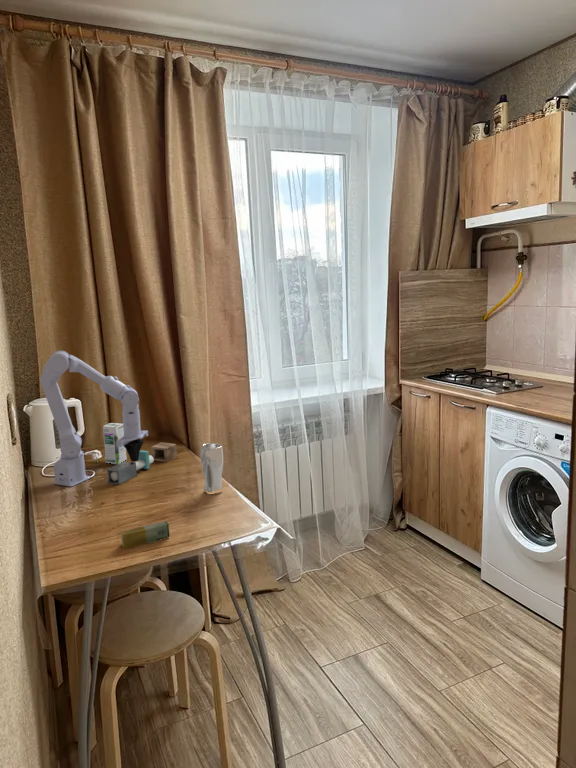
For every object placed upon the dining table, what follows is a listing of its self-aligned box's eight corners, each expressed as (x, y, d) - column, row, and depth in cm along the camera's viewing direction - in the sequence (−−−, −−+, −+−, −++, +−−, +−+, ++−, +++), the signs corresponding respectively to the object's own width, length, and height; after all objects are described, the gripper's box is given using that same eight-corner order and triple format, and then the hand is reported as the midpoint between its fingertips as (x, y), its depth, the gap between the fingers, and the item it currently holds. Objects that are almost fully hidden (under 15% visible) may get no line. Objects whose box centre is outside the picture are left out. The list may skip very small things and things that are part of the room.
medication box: (167, 534, 146) (166, 520, 145) (170, 538, 143) (169, 523, 143) (121, 545, 140) (119, 530, 139) (123, 549, 138) (122, 534, 137)
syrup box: (105, 463, 204) (102, 425, 202) (114, 458, 210) (111, 422, 207) (118, 464, 203) (115, 426, 200) (127, 460, 208) (124, 422, 206)
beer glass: (198, 494, 173) (196, 448, 170) (208, 486, 179) (206, 442, 177) (219, 496, 171) (217, 449, 168) (228, 488, 177) (226, 443, 175)
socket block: (167, 461, 205) (166, 448, 204) (152, 459, 208) (151, 446, 207) (176, 457, 210) (176, 444, 209) (161, 455, 213) (160, 442, 212)
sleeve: (119, 484, 182) (118, 470, 182) (108, 482, 184) (106, 469, 183) (136, 475, 190) (135, 462, 190) (125, 474, 192) (124, 461, 192)
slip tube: (119, 482, 183) (117, 465, 182) (109, 481, 184) (108, 463, 183) (155, 464, 200) (154, 448, 199) (146, 463, 202) (145, 447, 201)
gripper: (127, 429, 182) (130, 468, 185) (154, 419, 195) (156, 455, 198) (110, 427, 185) (113, 466, 187) (137, 417, 198) (140, 453, 200)
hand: (134, 460), depth 193 cm, fingers closed
